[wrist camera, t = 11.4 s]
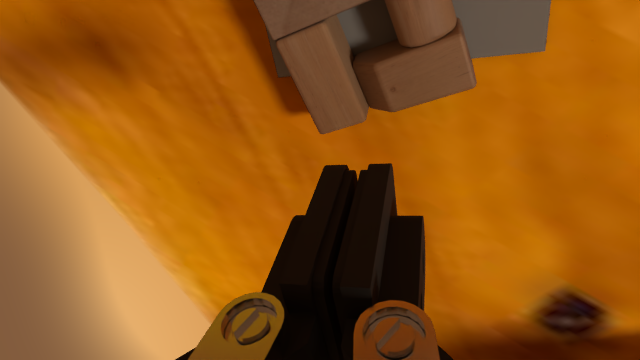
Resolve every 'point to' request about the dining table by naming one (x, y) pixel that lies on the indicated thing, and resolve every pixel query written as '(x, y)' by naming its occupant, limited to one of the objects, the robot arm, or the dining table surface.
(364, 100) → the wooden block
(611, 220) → the dining table surface
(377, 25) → the mat
